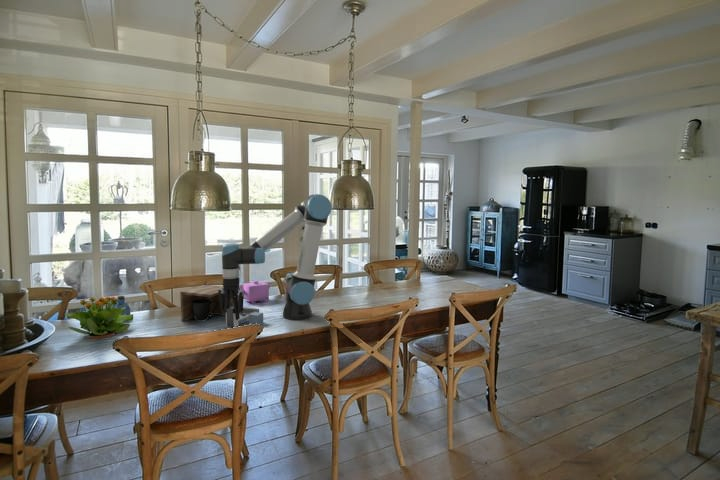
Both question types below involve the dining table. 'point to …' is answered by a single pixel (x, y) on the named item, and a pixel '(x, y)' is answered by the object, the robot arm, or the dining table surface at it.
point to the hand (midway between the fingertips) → (232, 325)
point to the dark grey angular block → (230, 318)
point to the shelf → (197, 294)
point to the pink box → (256, 291)
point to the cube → (256, 318)
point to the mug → (202, 309)
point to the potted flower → (101, 318)
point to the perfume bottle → (122, 305)
